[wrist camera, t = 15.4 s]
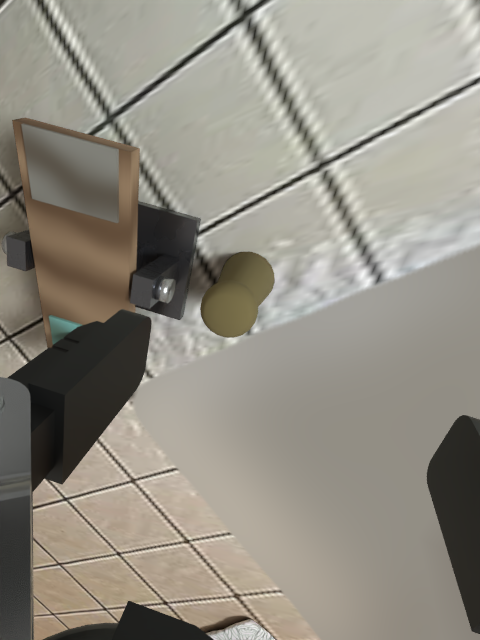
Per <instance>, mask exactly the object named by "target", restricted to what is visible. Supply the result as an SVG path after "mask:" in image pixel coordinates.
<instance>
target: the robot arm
mask: <svg viewBox="0 0 480 640" xmlns="http://www.w3.org/2000/svg"><path fill="white" fill-rule="evenodd" d="M150 332H151V319H150V317H147V316H144V315H141V314H137V313H134V312H131V311H128V310H124V309H121V310H119V311H118V312H117V313H116V314H114V315H113V316H112V317H111V318H109V319H108V320H107V321H105V322H104V323H103V322H99V321H95V322H91V323H88V324H85V325H82V326H79V327H77V328H76V329H74V330H73V331H71V332H70V333H69V334H67V335H66V336H65V337H64V339H60V340H59V341H58V342H56V343H55V344H53V345H52V348H50V347H49V348H48V349H47V350H45V351H44V352H42V353H41V354H40V355H38V356H37V357H36V358H34V359H33V360H31V361H30V362H29V363H27V364H26V365H25V366H23V367H22V368H20V369H19V370H18V371H16V372H15V373H14V374H12V375H11V376H9V377H8V378H3V377H0V640H34V594H33V493H32V492H33V491H34V490H35V489H36V488H37V486H38V485H39V484H40V483H41V482H42V481H43V479H44V478H45V479H48V480H51V481H54V482H56V483H59V484H63V483H64V482H65V480H66V479H67V478H68V477H69V475H70V474H71V473H72V471H73V470H74V469H75V468H76V466H77V465H78V464H79V462H80V461H81V460H82V459H83V457H84V456H85V455H86V453H87V452H88V451H89V450H90V448H91V447H92V446H93V445H94V443H95V442H96V441H97V439H98V438H99V437H100V436H101V434H102V433H103V432H104V430H105V429H106V428H107V427H108V425H109V424H110V423H111V421H112V420H113V419H114V418H115V416H116V415H117V414H118V412H119V411H120V410H121V409H122V407H123V406H124V405H125V403H126V402H127V401H128V400H129V398H130V397H131V396H132V395H133V393H134V392H135V391H136V389H137V388H138V386H139V384H140V382H141V380H142V377H143V375H144V371H145V367H146V360H147V353H148V346H149V339H150ZM427 484H428V488H429V491H430V494H431V497H432V501H433V504H434V508H435V511H436V514H437V517H438V521H439V524H440V527H441V531H442V534H443V537H444V540H445V544H446V547H447V551H448V554H449V557H450V560H451V564H452V567H453V570H454V574H455V577H456V580H457V583H458V587H459V590H460V593H461V596H462V600H463V603H464V606H465V610H466V613H467V617H468V620H469V623H470V626H471V630H472V631H473V632H475V633H478V634H480V420H479V419H476V418H473V417H469V416H466V415H462V416H460V417H459V418H458V419H457V420H456V421H455V422H454V424H453V425H452V427H451V428H450V430H449V432H448V434H447V435H446V436H445V438H444V440H443V441H442V443H441V444H440V446H439V448H438V449H437V451H436V452H435V454H434V456H433V457H432V459H431V461H430V463H429V466H428V471H427ZM43 640H214V639H213V638H211V637H210V636H209V635H207V634H206V633H205V632H203V631H202V630H201V629H199V628H198V627H197V626H195V625H192V624H189V623H187V622H184V621H181V620H179V619H176V618H173V617H171V616H168V615H165V614H163V613H160V612H157V611H155V610H152V609H149V608H147V607H144V606H141V605H139V604H136V603H133V602H131V601H128V603H127V605H126V608H125V610H124V612H123V614H122V617H121V619H120V621H119V623H100V624H91V625H85V626H81V627H76V628H72V629H68V630H65V631H63V632H60V633H58V634H55V635H52V636H50V637H47V638H45V639H43Z"/></svg>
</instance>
